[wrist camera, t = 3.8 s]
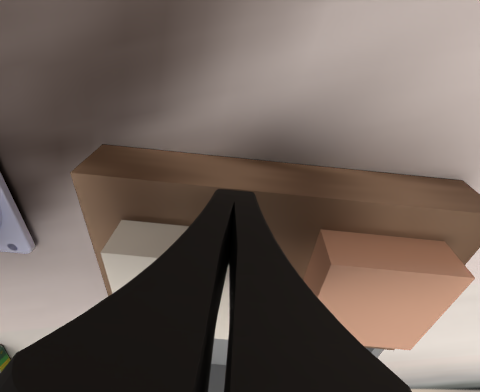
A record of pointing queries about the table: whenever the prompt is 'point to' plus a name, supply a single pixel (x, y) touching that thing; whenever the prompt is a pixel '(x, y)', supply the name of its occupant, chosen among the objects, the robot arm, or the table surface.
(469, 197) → the walnut board
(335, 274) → the terracotta tile
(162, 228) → the ivory tile
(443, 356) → the table surface
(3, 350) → the crayon box
